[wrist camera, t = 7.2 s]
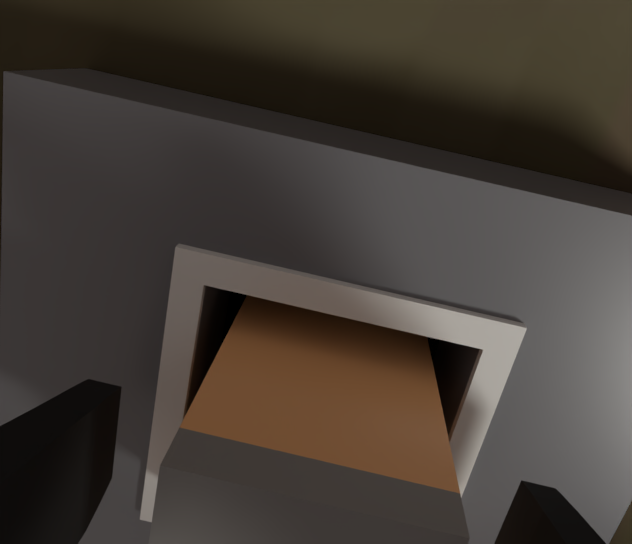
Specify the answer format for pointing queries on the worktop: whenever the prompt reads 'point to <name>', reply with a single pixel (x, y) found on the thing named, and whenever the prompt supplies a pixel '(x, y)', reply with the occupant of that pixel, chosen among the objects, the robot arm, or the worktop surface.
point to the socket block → (309, 280)
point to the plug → (311, 439)
